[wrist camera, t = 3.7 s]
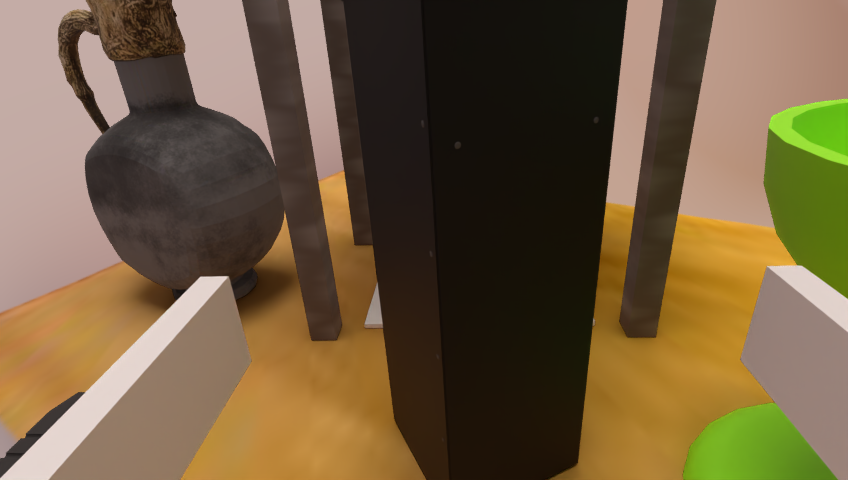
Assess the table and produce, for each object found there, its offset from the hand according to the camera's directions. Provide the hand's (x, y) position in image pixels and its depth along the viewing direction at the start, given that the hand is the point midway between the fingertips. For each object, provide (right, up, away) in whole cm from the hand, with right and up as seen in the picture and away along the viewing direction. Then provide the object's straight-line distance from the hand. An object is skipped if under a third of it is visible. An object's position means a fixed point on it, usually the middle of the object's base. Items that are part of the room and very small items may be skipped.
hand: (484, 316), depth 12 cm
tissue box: (+2, -10, +15) cm, 18 cm away
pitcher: (-23, -3, +34) cm, 41 cm away
